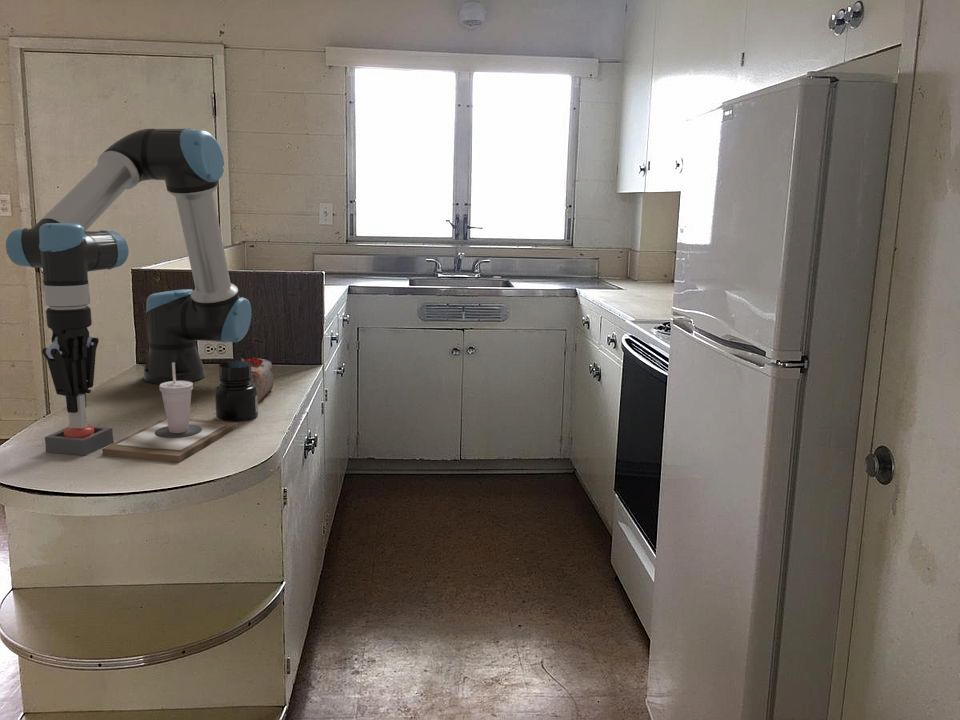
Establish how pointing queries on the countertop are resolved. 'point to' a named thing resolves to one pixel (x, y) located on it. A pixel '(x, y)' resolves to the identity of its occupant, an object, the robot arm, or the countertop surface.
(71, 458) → the countertop surface
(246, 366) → the ink bottle
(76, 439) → the button housing
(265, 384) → the food item
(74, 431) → the button
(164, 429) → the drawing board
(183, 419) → the smoothie
